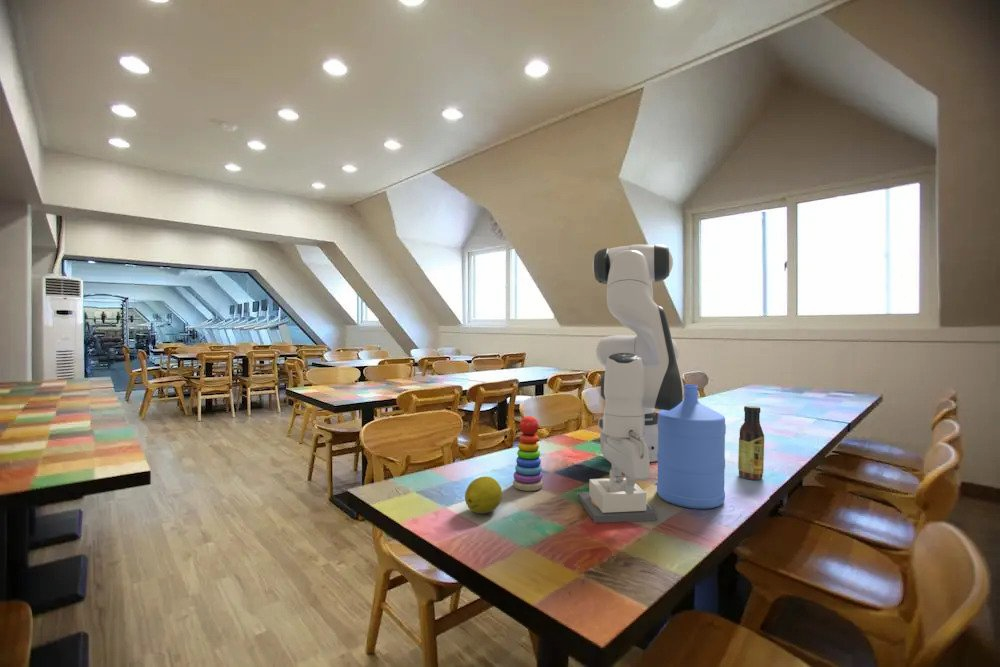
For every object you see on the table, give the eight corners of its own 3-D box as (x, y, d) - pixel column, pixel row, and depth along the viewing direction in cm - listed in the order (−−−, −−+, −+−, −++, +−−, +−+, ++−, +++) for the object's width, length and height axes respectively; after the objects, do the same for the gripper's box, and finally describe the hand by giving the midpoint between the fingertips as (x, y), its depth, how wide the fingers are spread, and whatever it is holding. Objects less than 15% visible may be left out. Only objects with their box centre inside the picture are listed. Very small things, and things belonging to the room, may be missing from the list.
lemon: (486, 501, 114) (485, 468, 114) (510, 509, 109) (510, 475, 108) (453, 515, 106) (453, 480, 105) (478, 525, 100) (478, 488, 100)
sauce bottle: (758, 482, 126) (759, 409, 125) (734, 476, 131) (735, 406, 130) (767, 477, 130) (768, 406, 130) (743, 471, 135) (744, 403, 135)
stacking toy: (541, 493, 119) (541, 420, 118) (510, 491, 120) (510, 419, 120) (544, 482, 126) (544, 414, 126) (515, 480, 128) (515, 413, 127)
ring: (629, 493, 114) (629, 477, 113) (646, 510, 104) (646, 492, 103) (589, 495, 112) (589, 479, 112) (602, 512, 103) (602, 494, 102)
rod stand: (632, 495, 117) (632, 460, 117) (656, 519, 103) (656, 479, 103) (577, 498, 116) (577, 462, 115) (594, 522, 102) (594, 482, 101)
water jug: (712, 516, 105) (713, 392, 104) (646, 498, 115) (647, 385, 114) (733, 496, 116) (735, 385, 115) (671, 481, 127) (672, 379, 126)
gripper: (658, 436, 94) (657, 505, 94) (620, 418, 114) (620, 474, 114) (628, 437, 93) (627, 506, 93) (595, 418, 113) (595, 475, 113)
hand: (623, 488), depth 104 cm, fingers open, 5 cm apart
